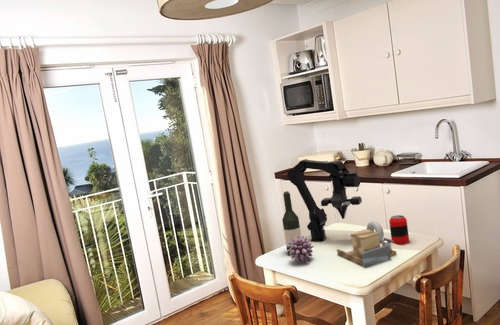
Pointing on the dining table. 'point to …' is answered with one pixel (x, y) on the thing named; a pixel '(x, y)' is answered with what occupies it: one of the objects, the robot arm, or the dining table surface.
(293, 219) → the wine bottle
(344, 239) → the dining table surface
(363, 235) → the tall wooden block
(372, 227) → the donut
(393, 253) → the post
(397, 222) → the soda can
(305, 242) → the purple spiky ball
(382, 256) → the bay
